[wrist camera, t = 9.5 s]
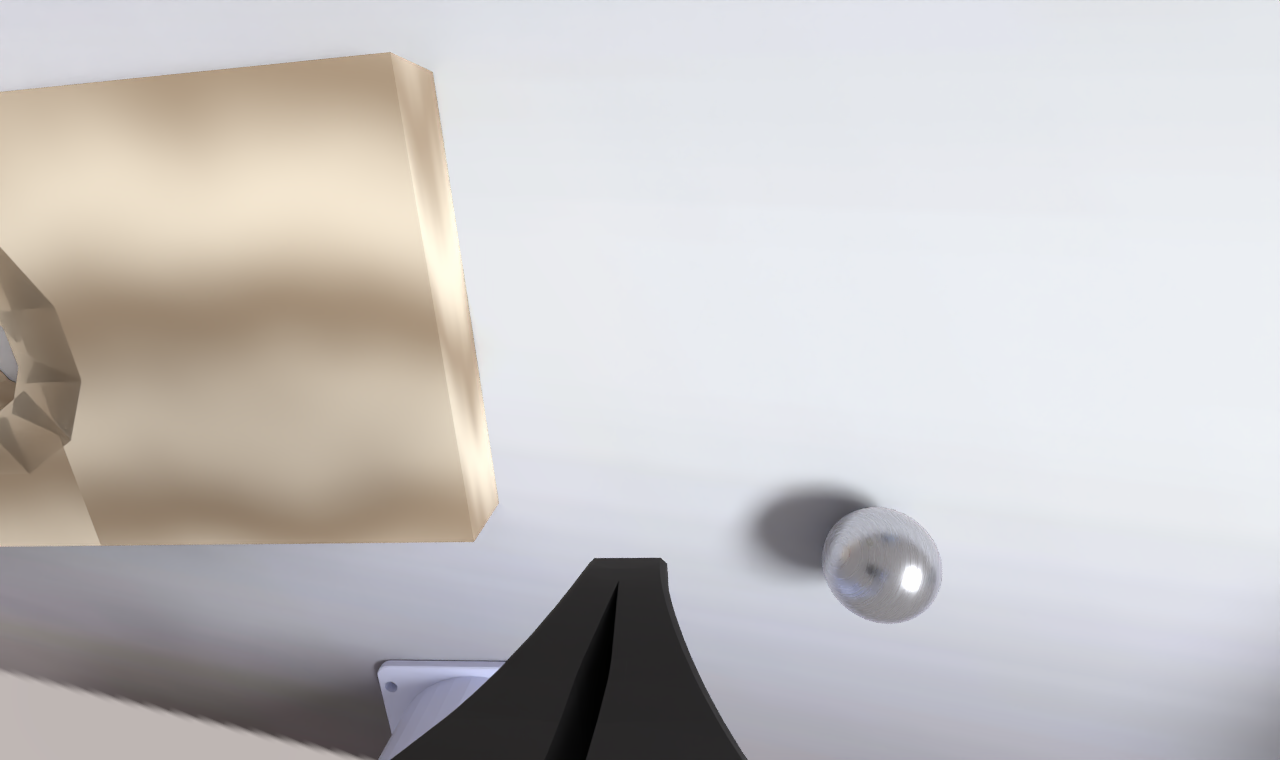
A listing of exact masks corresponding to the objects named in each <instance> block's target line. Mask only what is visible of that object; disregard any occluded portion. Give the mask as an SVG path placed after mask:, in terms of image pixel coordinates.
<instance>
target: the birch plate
mask: <svg viewBox="0 0 1280 760" xmlns="http://www.w3.org/2000/svg"><path fill="white" fill-rule="evenodd" d="M0 325H1V327H2V328H3V329H4V331H5V334H6V336H7V339H8V341H9V344H10V346H11V349H12V352H13V354H14V357H15V359H16V362H17V364H18V373H17V380H16V383H15V382H13V381H11V380H9V379H8V378H7V377H6V376H5V375H4V374H3V373H2V372H1V371H0V547H14V546H113V545H212V544H310V543H409V542H474V541H475V540H476V538H477V536H478V535H479V533H480V532H481V530H482V529H483V527H484V525H485V524H486V522H487V521H488V519H489V518H490V516H491V515H492V513H493V511H494V510H495V508H496V507H497V505H498V504H499V501H498V495H497V488H496V482H495V475H494V469H493V462H492V456H491V449H490V443H489V436H488V430H487V423H486V417H485V410H484V404H483V397H482V390H481V384H480V377H479V371H478V364H477V358H476V351H475V345H474V338H473V332H472V325H471V319H470V312H469V306H468V299H467V293H466V286H465V280H464V273H463V267H462V260H461V254H460V247H459V241H458V234H457V228H456V221H455V215H454V208H453V202H452V195H451V189H450V182H449V175H448V169H447V162H446V156H445V149H444V143H443V136H442V130H441V123H440V117H439V110H438V104H437V97H436V91H435V84H434V78H433V72H431V71H429V70H427V69H425V68H423V67H421V66H419V65H416V64H414V63H412V62H410V61H408V60H406V59H404V58H402V57H399V56H397V55H395V54H393V53H391V52H388V53H378V54H368V55H358V56H349V57H339V58H329V59H319V60H309V61H299V62H290V63H280V64H270V65H260V66H250V67H241V68H231V69H221V70H211V71H201V72H192V73H182V74H172V75H162V76H152V77H143V78H133V79H123V80H113V81H103V82H94V83H84V84H74V85H64V86H54V87H44V88H35V89H25V90H15V91H5V92H0Z"/></svg>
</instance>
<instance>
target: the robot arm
mask: <svg viewBox="0 0 1280 760" xmlns="http://www.w3.org/2000/svg"><path fill="white" fill-rule="evenodd" d="M378 680H379V684H380V688H381V692H382V696H383V700H384V704H385V708H386V712H387V717H388V721H389V725H390V729H391V733H392V736H391V737H390V739H389V741H388V743H387V745H386V746H385V748H384V750H383V752H382V753H381V755H380V757H379V759H378V760H747V758H746V757H745V755H744V754H743V752H742V751H741V749H740V748H739V746H738V744H737V743H736V741H735V739H734V738H733V736H732V734H731V733H730V731H729V729H728V728H727V726H726V724H725V723H724V721H723V719H722V717H721V716H720V714H719V712H718V710H717V708H716V707H715V705H714V703H713V701H712V699H711V697H710V696H709V694H708V692H707V690H706V688H705V686H704V684H703V682H702V680H701V677H700V675H699V673H698V671H697V669H696V667H695V664H694V662H693V660H692V658H691V655H690V653H689V651H688V648H687V646H686V643H685V641H684V638H683V635H682V632H681V630H680V627H679V624H678V621H677V618H676V616H675V612H674V609H673V606H672V602H671V598H670V594H669V588H668V572H667V563H666V562H665V561H663V560H662V559H661V558H594V559H593V560H592V561H591V562H590V563H589V564H588V566H587V567H586V568H585V570H584V571H583V572H582V574H581V575H580V576H579V578H578V579H577V580H576V581H575V583H574V584H573V585H572V587H571V588H570V589H569V590H568V592H567V593H566V594H565V595H564V597H563V598H562V599H561V600H560V602H559V603H558V604H557V605H556V607H555V608H554V609H553V610H552V611H551V612H550V614H549V615H548V616H547V617H546V618H545V619H544V621H543V622H542V623H541V624H540V625H539V627H538V628H537V629H536V630H535V631H534V632H533V633H532V635H531V636H530V637H529V638H528V639H527V640H526V641H525V642H524V643H523V644H522V645H521V646H520V647H519V648H518V650H517V651H516V652H515V653H514V654H513V655H512V656H511V657H510V658H509V659H508V660H507V661H506V662H495V661H411V660H389V661H386V662H384V663H383V664H382V665H381V667H380V668H379V670H378ZM391 682H393V683H395V684H396V685H395V684H393V683H391Z"/></svg>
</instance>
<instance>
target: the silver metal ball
mask: <svg viewBox="0 0 1280 760" xmlns="http://www.w3.org/2000/svg"><path fill="white" fill-rule="evenodd" d="M822 566H823V572H824V575H825V578H826V581H827V584H828V586H829V588H830V589H831V591H832V592H833V594H834V596H835V597H836V598H837V599H838V600H839V601H840V603H841V604H842V605H844V606H845V607H846V608H847V609H848V610H850V611H851V612H853V613H854V614H856V615H858V616H860V617H862V618H864V619H866V620H869V621H873V622H877V623H886V624H892V623H901V622H904V621H908V620H911V619H913V618H915V617H917V616H918V615H920V614H921V613H923V612H924V611H925V610H926V609H927V608H928V607H929V606H930V605H931V604H932V602H933V601H934V599H935V598H936V596H937V594H938V592H939V589H940V586H941V581H942V563H941V558H940V554H939V552H938V549H937V547H936V545H935V543H934V541H933V539H932V538H931V536H930V535H929V534H928V532H927V531H926V530H925V529H924V528H923V527H922V526H921V525H920V524H919V523H918V522H916V521H915V520H914V519H912V518H910V517H909V516H907V515H905V514H903V513H901V512H898V511H896V510H893V509H888V508H883V507H869V508H862V509H859V510H856V511H853V512H851V513H849V514H847V515H846V516H844V517H843V518H841V519H840V520H839V521H838V522H837V523H836V524H835V525H834V526H833V527H832V529H831V530H830V532H829V533H828V535H827V538H826V540H825V543H824V547H823V552H822Z"/></svg>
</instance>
